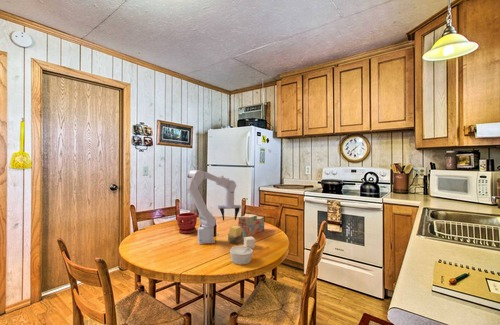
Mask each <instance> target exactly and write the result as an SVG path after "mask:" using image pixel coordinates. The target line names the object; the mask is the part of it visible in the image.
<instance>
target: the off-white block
mask: <svg viewBox="0 0 500 325" xmlns="http://www.w3.org/2000/svg"><path fill="white" fill-rule="evenodd" d="M243 246H245V247H249V248H251V249H255V248H256V238H254V237H253V235H251V236H249V237H243Z"/></svg>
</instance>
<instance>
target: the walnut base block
mask: <svg viewBox="0 0 500 325" xmlns="http://www.w3.org/2000/svg"><path fill="white" fill-rule="evenodd" d="M227 241H228V243H229V245H238V244H244V237H243V236H242V234H241V235H240V236H238V237H234V236H230V235H229V233H228V234H227Z"/></svg>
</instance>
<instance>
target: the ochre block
mask: <svg viewBox="0 0 500 325" xmlns="http://www.w3.org/2000/svg"><path fill="white" fill-rule="evenodd" d="M228 234H229V235H230V236H234V237H238V236H240V235H241V227H240V226H238V225H232V226H229V233H228Z"/></svg>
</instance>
